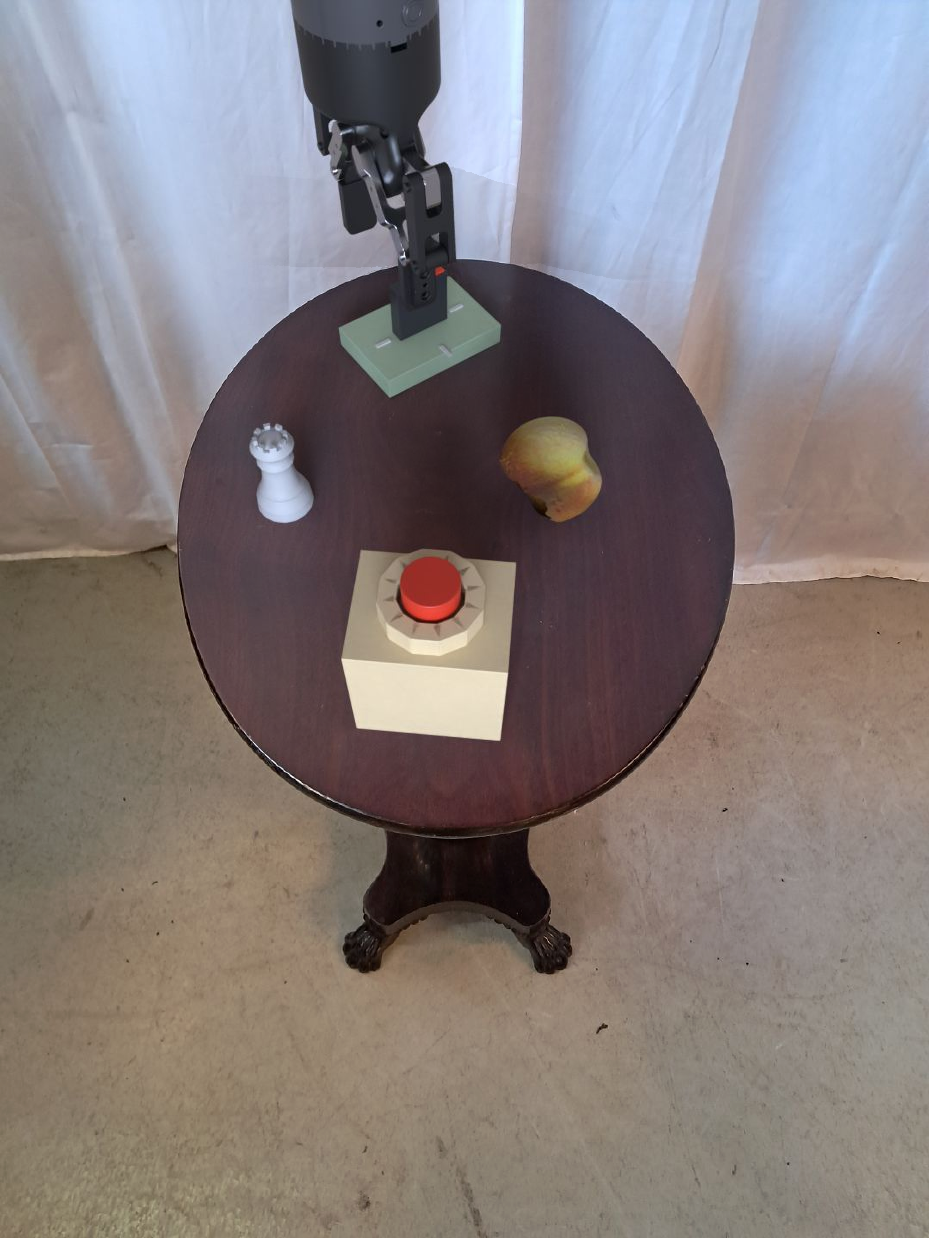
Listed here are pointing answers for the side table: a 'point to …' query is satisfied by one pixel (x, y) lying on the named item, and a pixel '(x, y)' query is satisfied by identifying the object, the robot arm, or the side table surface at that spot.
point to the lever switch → (419, 342)
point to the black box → (423, 317)
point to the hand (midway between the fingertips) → (389, 265)
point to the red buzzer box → (429, 650)
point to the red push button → (430, 589)
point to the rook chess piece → (279, 476)
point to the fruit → (552, 466)
